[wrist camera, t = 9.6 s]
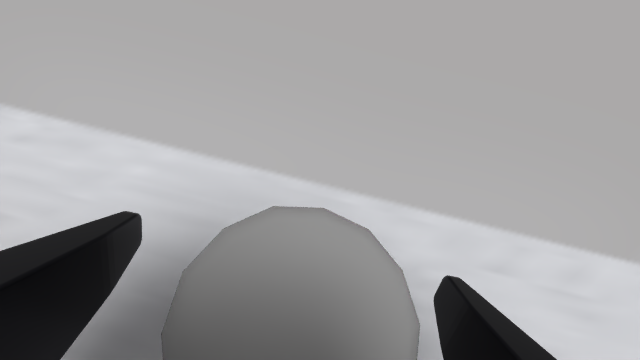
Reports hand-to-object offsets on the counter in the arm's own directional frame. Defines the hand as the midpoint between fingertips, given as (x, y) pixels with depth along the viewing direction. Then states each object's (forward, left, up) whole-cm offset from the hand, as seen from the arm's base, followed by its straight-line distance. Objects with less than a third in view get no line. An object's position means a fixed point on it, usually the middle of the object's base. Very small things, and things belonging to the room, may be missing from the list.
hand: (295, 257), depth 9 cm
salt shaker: (-1, -1, -9) cm, 9 cm away
